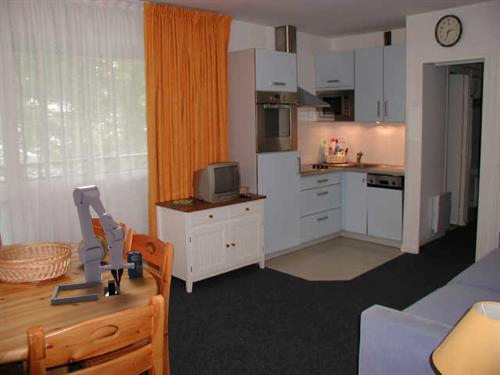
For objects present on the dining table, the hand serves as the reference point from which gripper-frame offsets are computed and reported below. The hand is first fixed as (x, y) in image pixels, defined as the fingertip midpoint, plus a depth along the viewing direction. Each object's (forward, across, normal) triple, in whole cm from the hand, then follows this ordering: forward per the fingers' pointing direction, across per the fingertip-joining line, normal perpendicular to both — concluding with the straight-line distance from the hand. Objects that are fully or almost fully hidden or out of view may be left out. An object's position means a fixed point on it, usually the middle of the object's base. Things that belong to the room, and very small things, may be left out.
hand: (118, 285), depth 212 cm
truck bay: (+2, -17, 0) cm, 17 cm away
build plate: (+2, -3, 0) cm, 4 cm away
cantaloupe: (+2, -12, +43) cm, 45 cm away
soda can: (+2, +8, +15) cm, 17 cm away
